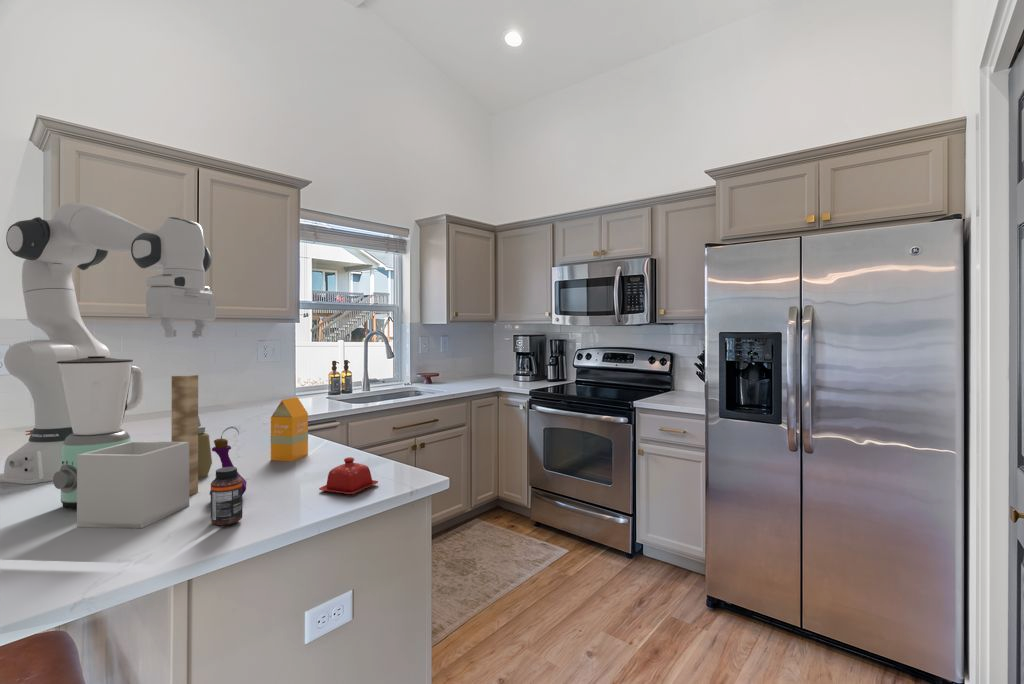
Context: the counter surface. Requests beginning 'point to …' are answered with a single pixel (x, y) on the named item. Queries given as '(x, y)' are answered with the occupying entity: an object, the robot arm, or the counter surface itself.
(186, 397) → the long wooden block
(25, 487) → the counter surface
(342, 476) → the butter dish
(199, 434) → the squeeze bottle
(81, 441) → the blender
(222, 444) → the potion bottle
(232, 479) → the supplement bottle
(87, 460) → the bin
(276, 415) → the orange juice
